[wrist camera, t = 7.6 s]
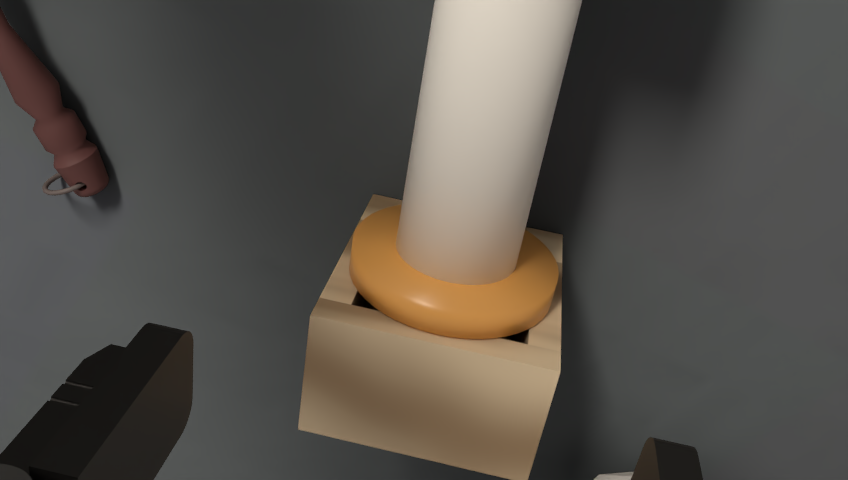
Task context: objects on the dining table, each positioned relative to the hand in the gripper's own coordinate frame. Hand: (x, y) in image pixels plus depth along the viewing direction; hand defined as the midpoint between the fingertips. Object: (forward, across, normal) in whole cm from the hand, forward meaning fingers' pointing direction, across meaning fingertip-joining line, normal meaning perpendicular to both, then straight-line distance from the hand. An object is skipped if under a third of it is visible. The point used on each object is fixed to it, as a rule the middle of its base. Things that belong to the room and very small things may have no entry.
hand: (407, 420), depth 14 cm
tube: (+16, 0, -3) cm, 16 cm away
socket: (+17, 0, +7) cm, 18 cm away
